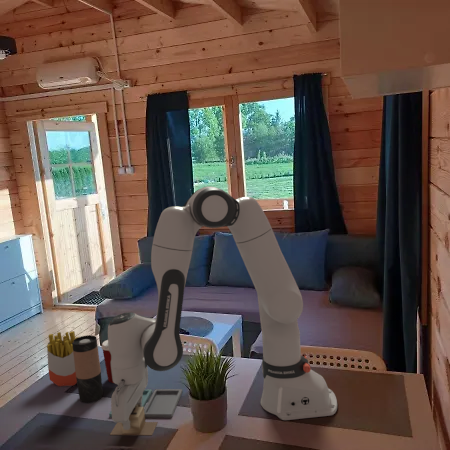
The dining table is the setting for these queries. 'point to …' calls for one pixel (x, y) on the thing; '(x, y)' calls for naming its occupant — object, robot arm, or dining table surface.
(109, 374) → the paper cup
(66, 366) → the french fries container
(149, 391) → the teal bin
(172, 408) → the gray bin
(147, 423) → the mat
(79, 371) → the travel mug
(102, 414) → the dining table surface
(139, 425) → the letter cube
